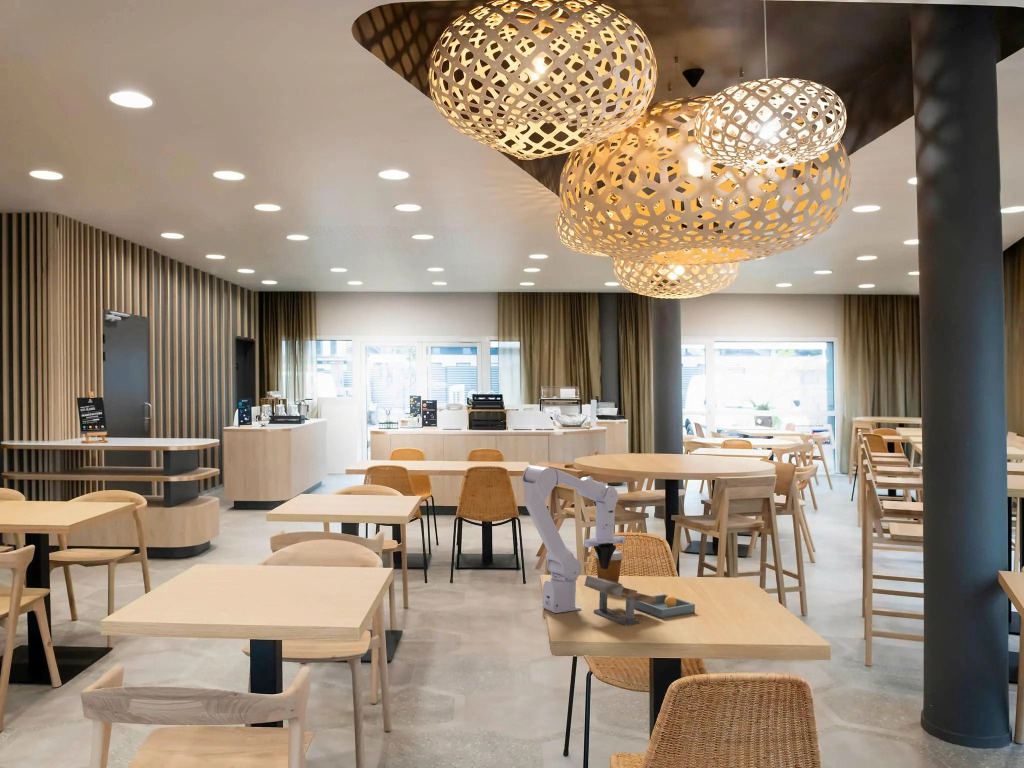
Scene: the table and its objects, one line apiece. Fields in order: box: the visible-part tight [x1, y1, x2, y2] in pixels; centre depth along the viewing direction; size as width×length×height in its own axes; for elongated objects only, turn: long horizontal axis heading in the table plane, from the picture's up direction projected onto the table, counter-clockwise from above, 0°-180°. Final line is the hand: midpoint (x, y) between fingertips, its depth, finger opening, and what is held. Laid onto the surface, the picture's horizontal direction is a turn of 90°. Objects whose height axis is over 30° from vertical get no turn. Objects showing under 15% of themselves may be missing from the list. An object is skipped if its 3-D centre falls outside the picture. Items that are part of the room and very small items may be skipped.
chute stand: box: [593, 591, 640, 626], centre depth 225 cm, size 5×15×7 cm, turn 31°
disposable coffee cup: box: [594, 548, 624, 583], centre depth 261 cm, size 10×10×12 cm
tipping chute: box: [583, 575, 656, 605], centre depth 230 cm, size 20×17×3 cm
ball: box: [665, 595, 676, 608], centre depth 236 cm, size 4×4×4 cm
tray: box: [634, 593, 696, 619], centre depth 235 cm, size 13×13×2 cm
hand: (604, 568), depth 242 cm, fingers closed
